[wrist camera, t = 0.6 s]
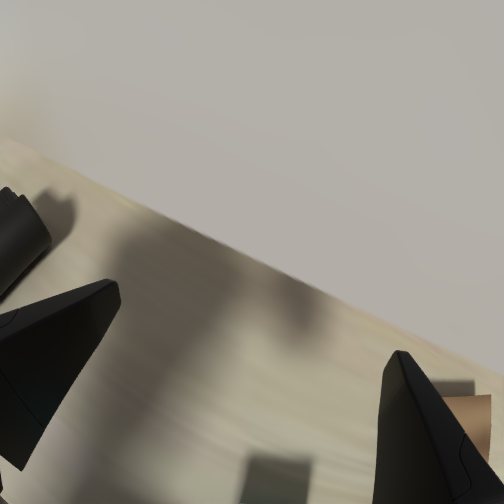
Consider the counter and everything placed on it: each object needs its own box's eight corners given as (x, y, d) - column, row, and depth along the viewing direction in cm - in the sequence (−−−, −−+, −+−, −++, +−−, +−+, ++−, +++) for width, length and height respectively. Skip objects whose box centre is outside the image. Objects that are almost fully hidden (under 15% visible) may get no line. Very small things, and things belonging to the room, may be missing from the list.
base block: (461, 501, 15) (481, 502, 12) (370, 525, 14) (389, 532, 12) (471, 401, 22) (491, 394, 19) (388, 402, 21) (408, 397, 19)
